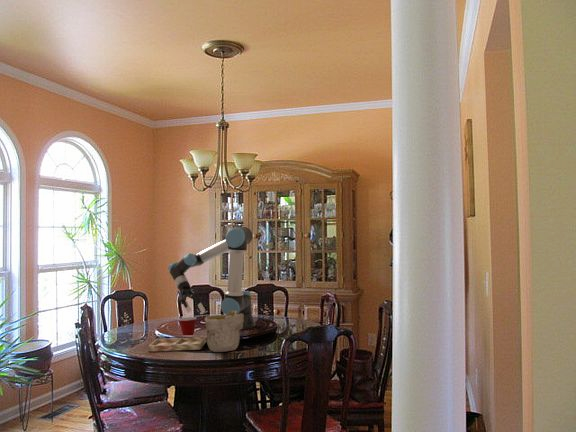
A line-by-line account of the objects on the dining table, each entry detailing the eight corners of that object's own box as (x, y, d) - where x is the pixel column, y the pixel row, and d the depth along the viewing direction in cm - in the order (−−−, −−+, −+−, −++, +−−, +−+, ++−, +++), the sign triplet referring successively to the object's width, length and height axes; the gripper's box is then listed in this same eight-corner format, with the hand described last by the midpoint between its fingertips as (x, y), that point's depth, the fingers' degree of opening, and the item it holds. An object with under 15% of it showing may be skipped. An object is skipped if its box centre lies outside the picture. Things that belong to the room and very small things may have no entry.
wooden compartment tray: (206, 342, 283) (206, 336, 283) (200, 349, 268) (199, 344, 268) (157, 344, 285) (156, 338, 285) (148, 351, 270) (148, 346, 270)
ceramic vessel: (185, 333, 271) (211, 295, 277) (220, 355, 278) (244, 317, 285) (195, 342, 250) (222, 300, 257) (232, 365, 258) (258, 323, 264)
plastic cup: (199, 335, 300) (198, 315, 300) (194, 339, 289) (193, 319, 289) (182, 335, 301) (181, 316, 301) (176, 340, 291) (175, 320, 290)
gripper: (191, 289, 321) (205, 316, 312) (165, 286, 300) (179, 315, 290) (199, 282, 319) (213, 309, 310) (173, 278, 298) (187, 307, 288)
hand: (196, 312), depth 300 cm, fingers open, 13 cm apart
